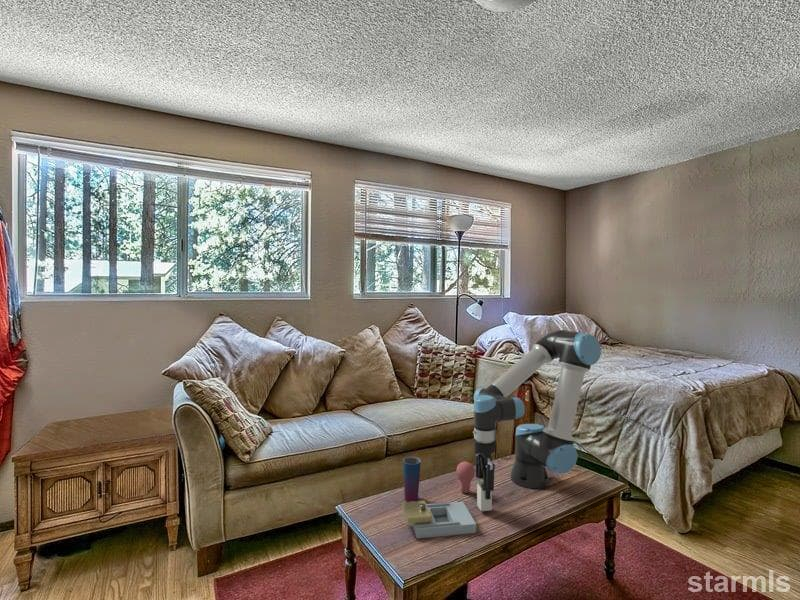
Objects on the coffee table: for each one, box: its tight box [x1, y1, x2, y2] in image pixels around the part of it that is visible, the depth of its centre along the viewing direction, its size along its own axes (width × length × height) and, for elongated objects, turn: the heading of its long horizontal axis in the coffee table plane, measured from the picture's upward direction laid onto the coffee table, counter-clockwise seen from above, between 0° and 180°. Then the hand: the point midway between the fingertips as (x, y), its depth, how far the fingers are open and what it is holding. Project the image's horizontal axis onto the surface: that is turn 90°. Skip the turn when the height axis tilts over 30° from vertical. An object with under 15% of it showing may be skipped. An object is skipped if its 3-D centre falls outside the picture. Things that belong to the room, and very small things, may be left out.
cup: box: [402, 456, 422, 502], centre depth 157 cm, size 7×7×15 cm
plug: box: [476, 478, 493, 512], centre depth 149 cm, size 4×4×10 cm
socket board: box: [412, 501, 477, 539], centre depth 141 cm, size 20×14×4 cm
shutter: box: [401, 500, 432, 527], centre depth 140 cm, size 8×10×4 cm
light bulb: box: [456, 461, 476, 494], centre depth 163 cm, size 7×7×12 cm
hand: (484, 503), depth 149 cm, fingers closed on plug, 4 cm apart
